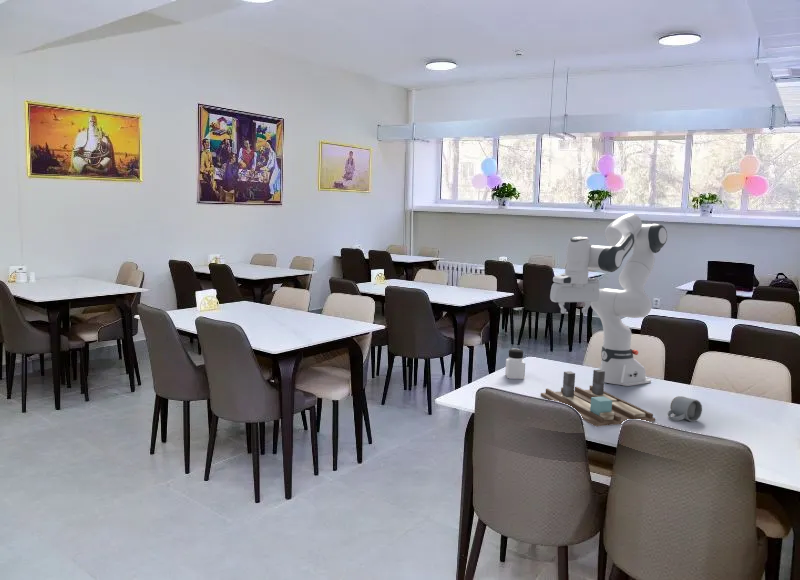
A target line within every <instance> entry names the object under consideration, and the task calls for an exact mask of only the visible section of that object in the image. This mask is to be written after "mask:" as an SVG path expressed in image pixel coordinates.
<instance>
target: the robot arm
mask: <svg viewBox="0 0 800 580" xmlns="http://www.w3.org/2000/svg"><path fill="white" fill-rule="evenodd" d="M604 237H605V240H606V242H607V244H608V245H595V244H593V243H591V242H590V239H589V237H587V236H574V237H571V238H570V239H568V242H567V246H566V254H565V262H566V264H565V265H566V266H565V269H564V272H563V273H561V274H558V275H555V276H553V278H552V281H553V283H552V285H551V289H550V294H549V299H550V300H551V302H553V303H558V306H559V308H560V313H561V314H567V309H566V308H565V303H584V307H583V308H581V313H582V314H588V310H589V308H590V307H591V309H592V310H593V311H594V312H595V313H596V314H597V315H598V318H599V319H600V321H601V325H602V329H603V331H602V332H603V342H602V344H603V345H602V346H601V351H600V352H601V363H600V366H599V370H603V371H605V379H604V383H608V384H612V385H621V386H624V387H625V386H626V387H629V386H637V385H643V384H651V383H652V380H651V378H649V377H647V375H646V368H645V366H644V365H642V363H640V362H639V361H638V360H637V359H636V358H635V357H634V356H638V355H639V350H636V349H632V348H631V346H632V345H631V344H632V331H631V329H630V327H629V326H627V325H626V324H625V323H624V322H623V321H622V319H621V317H625V318H632V319H637V318H645V317H647V316H648V315H649V314H650V313H651V311H652V307H653V306H652V300H651V298H650V296H649V295H648V294H647V293H646V292H645V286H646V283H647V282H648V280H649V277H650V276H651V273H652V271H653V269H654V266H655V265H654V264H655V261H656V257H655V254H657V253H659V252H660V251H661V249H662V248H664V246H665V244H666V242H667V241H668V231H667V229H666V227H665V226H664V225H663V224H658V223H652V224H651V223H647V224H646V223H643V222H642V219H641V217H640V216H639V215H637V214H635V213H630V212H629V213H626V214H623V215H621V216H618V217H617V218H616V219H614V220H613V221H612V222H611V223H609V224H608V225H607V226H606V228H605V231H604ZM631 250H632V254H631V256H630V257H629V258H628V260H627V261H626V263H625V265H624V266H623V268H622V270H621V272H620V273H619V276H618V283H619V285H620V286H621V288H622V289H617V288H609V287H607V288H600V281H599V279H597V278H595V277H593V278H590V277H589V271H590V270H593V271H594V270H595V271H602V272H607V273H613V272H615V271H618V270H619V268H620V267H622V263H623V261H624V259H625V258H626V257H627V255H628V254H629V252H630V251H631Z"/></svg>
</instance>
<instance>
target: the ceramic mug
mask: <svg viewBox="0 0 800 580" xmlns="http://www.w3.org/2000/svg"><path fill="white" fill-rule="evenodd" d="M702 412H703V405H702V402H701V401H700V400H698V399H694V398H691V397H690V398H689V397H686V396H679V395H678V396H676V397H674V398H673V399H672V400H671V402H670V410H669V411H668V412H667V417H668V419H669V420H670V421H674V422H677V421H682V420H686V421H688V422H693V423H694V422H696V421H698V420H699V419H700V418H701V416H702ZM671 415H674V416H671Z"/></svg>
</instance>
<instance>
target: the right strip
mask: <svg viewBox="0 0 800 580" xmlns="http://www.w3.org/2000/svg"><path fill="white" fill-rule="evenodd" d="M575 382H576V373H575V372H573V371H570V370H569V371H563V379H562V388H563V393H562V395H561V396H563V397H565V398H567V399H569V400H571V401H573V402H574V403H576V404H578V405H580V406H582V407H584V408H586V409H588V410H589V411H590V407H591V404H590V403H588V402H586V401H584V400H582V399H580V398H578V397H576V396H574V391H575ZM600 416H601V417H603V418H604V420H613V419H614V412H604V413H600Z"/></svg>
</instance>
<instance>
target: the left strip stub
mask: <svg viewBox="0 0 800 580" xmlns="http://www.w3.org/2000/svg"><path fill="white" fill-rule="evenodd" d="M592 371H593V374H592V385H591V386H592V393H591V394H593V395H596V396H598V397H602V396H604V397H606V398H608V399H610V400H612V402H617V400H616V399H614V398H612V397H610V396H608V395H606V394H604V391H605V382H604V379H605V371H603V370H600V369H593V370H592Z"/></svg>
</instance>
